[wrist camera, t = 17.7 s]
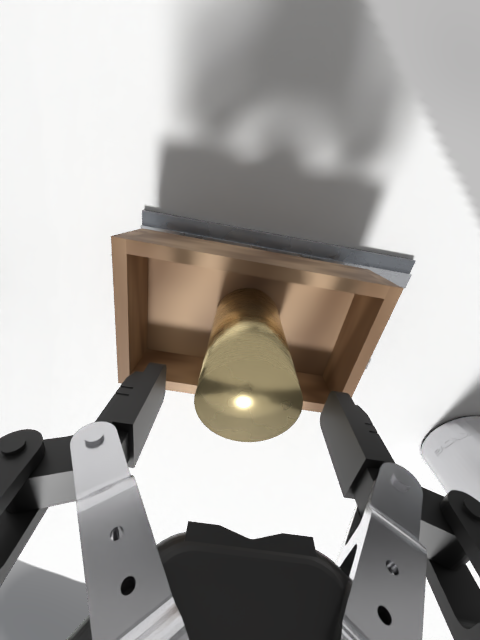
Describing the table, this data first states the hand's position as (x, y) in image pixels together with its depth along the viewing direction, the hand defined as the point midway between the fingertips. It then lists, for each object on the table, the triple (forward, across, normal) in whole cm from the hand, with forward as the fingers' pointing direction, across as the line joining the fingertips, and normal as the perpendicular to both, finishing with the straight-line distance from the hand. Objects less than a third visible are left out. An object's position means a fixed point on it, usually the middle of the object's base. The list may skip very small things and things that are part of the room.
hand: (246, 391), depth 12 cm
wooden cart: (+12, 0, 0) cm, 12 cm away
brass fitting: (+8, 0, 0) cm, 8 cm away
